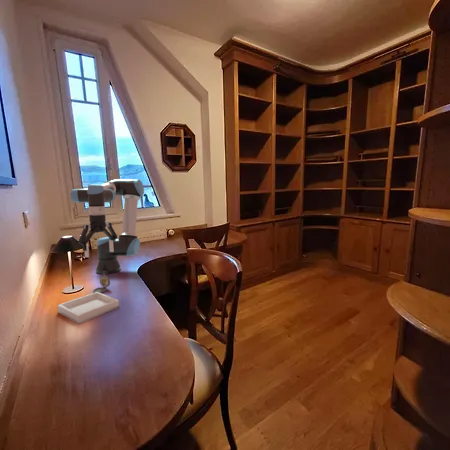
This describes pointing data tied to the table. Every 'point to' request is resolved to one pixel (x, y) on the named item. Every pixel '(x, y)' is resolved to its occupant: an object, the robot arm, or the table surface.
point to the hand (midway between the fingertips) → (99, 254)
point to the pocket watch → (103, 284)
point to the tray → (88, 307)
